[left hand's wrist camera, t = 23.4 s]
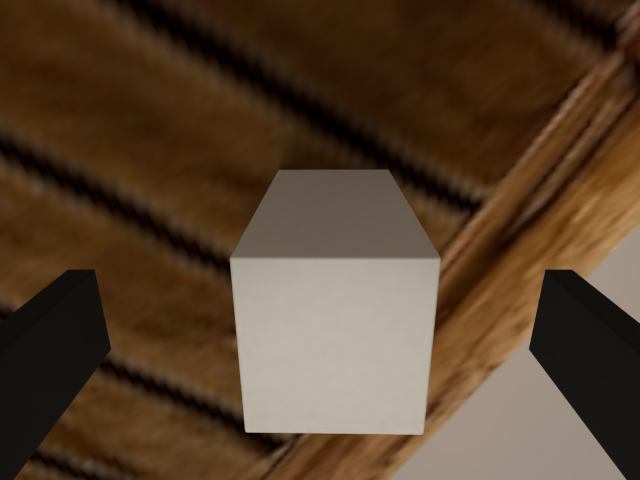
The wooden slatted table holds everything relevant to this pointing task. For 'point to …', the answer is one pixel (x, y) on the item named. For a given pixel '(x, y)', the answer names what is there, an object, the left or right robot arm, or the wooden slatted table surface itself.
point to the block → (335, 306)
